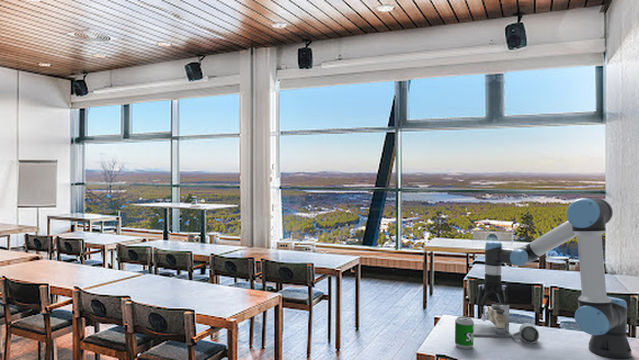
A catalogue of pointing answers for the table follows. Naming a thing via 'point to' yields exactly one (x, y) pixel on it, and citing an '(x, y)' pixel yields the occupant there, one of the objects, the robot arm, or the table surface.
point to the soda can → (464, 332)
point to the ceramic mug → (527, 333)
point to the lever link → (497, 317)
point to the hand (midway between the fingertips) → (492, 320)
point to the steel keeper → (506, 313)
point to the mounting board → (490, 331)
